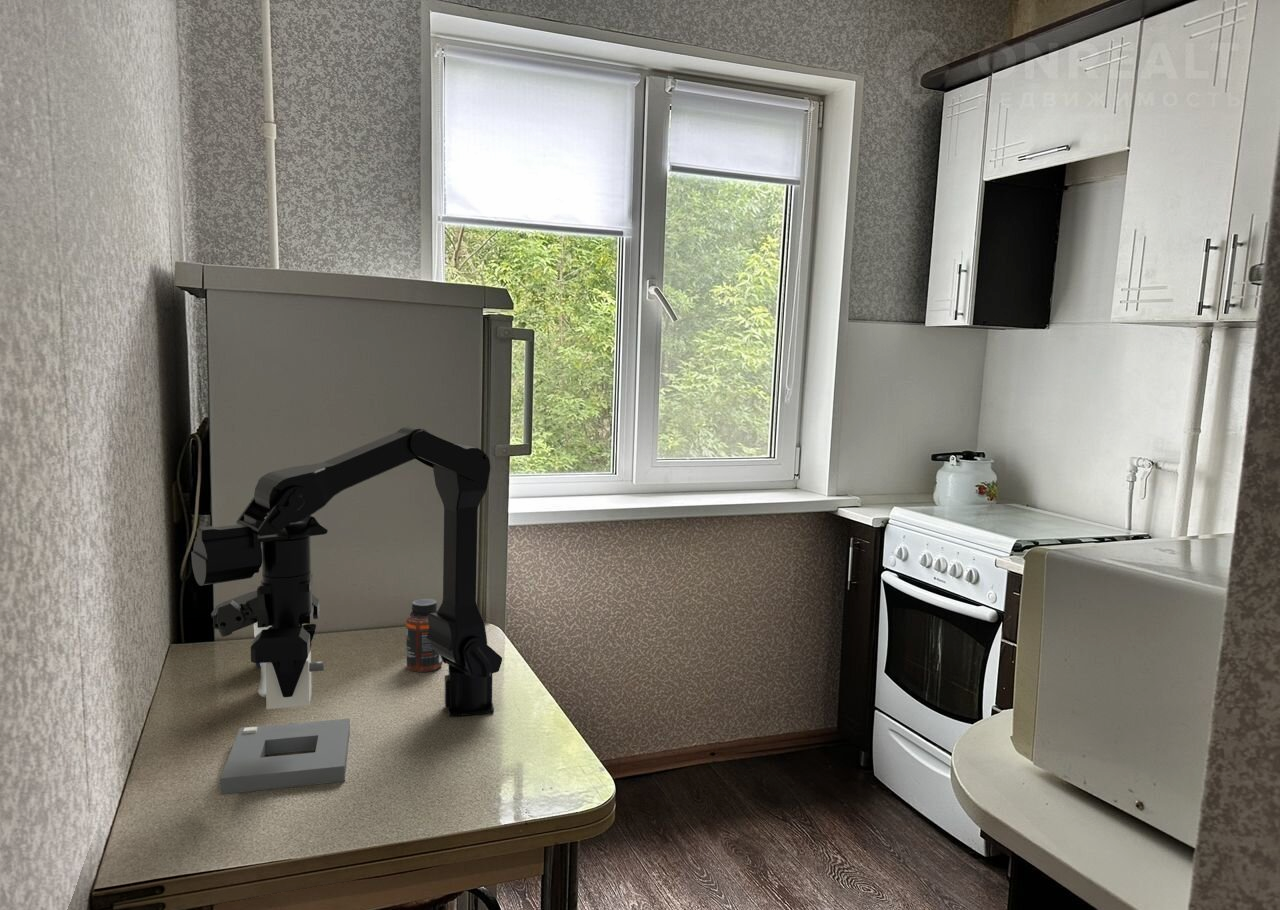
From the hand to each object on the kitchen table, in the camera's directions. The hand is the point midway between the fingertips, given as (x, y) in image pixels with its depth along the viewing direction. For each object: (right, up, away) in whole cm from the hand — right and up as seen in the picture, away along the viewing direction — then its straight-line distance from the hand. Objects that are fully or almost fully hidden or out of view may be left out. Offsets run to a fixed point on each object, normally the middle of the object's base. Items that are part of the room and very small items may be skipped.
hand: (289, 690), depth 109 cm
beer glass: (-11, -7, +23) cm, 26 cm away
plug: (0, -2, 0) cm, 2 cm away
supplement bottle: (+9, -6, +35) cm, 36 cm away
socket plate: (0, -9, +1) cm, 10 cm away
